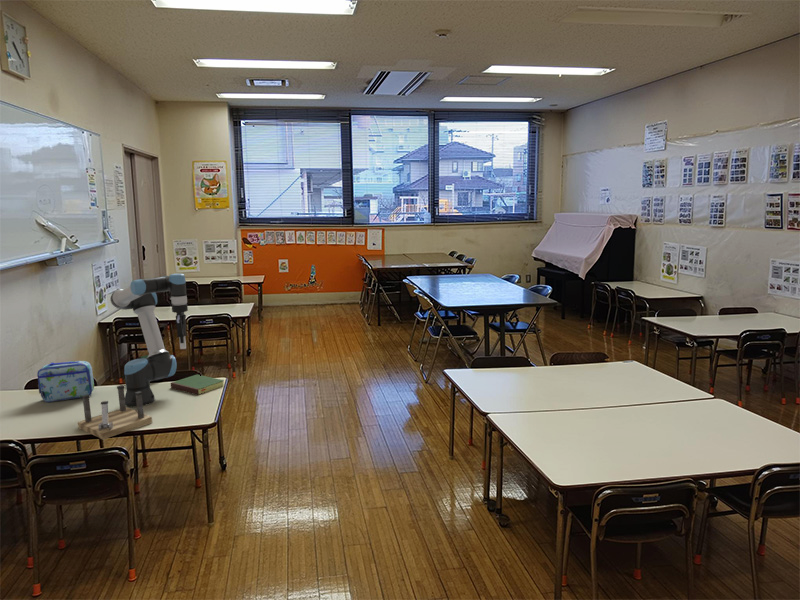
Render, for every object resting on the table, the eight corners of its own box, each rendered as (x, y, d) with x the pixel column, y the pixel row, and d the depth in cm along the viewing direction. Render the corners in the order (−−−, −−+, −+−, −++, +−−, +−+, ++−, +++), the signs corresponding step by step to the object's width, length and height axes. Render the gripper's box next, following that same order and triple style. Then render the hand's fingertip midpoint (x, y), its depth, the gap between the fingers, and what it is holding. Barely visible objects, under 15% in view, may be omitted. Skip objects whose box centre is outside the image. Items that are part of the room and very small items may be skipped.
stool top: (78, 427, 268) (74, 396, 265) (126, 412, 287) (123, 383, 284) (102, 439, 254) (99, 406, 251) (152, 422, 273) (149, 391, 270)
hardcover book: (171, 388, 325) (170, 382, 325) (197, 380, 341) (197, 374, 340) (198, 396, 312) (198, 389, 311) (225, 386, 328) (224, 380, 327)
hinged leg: (109, 427, 259) (108, 429, 257) (103, 428, 259) (102, 429, 257) (108, 400, 259) (106, 402, 257) (102, 401, 259) (100, 402, 256)
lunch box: (38, 404, 301) (33, 367, 298) (44, 397, 311) (39, 362, 308) (92, 398, 309) (87, 362, 306) (95, 392, 319) (91, 357, 316)
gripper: (174, 302, 288) (178, 345, 293) (168, 306, 276) (172, 352, 280) (189, 301, 290) (193, 345, 294) (184, 305, 277) (188, 351, 281)
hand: (183, 348), depth 287 cm, fingers closed
